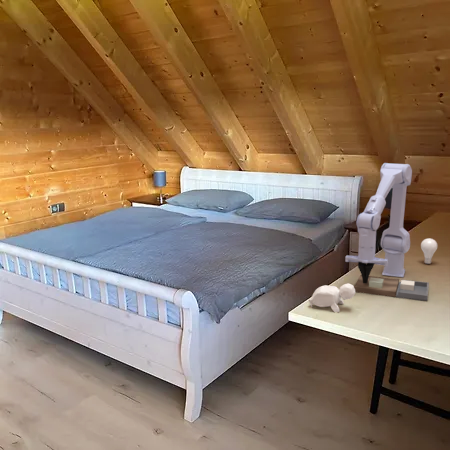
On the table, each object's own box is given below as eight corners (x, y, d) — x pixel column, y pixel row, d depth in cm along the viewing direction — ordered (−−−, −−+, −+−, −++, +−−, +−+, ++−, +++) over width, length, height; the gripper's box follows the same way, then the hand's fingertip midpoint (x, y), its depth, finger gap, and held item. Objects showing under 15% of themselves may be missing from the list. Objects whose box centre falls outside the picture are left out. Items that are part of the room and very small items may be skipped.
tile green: (370, 282, 174) (370, 277, 174) (383, 284, 172) (383, 279, 172) (368, 286, 170) (369, 281, 170) (381, 288, 168) (382, 283, 168)
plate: (360, 279, 183) (360, 274, 183) (398, 284, 178) (399, 279, 177) (354, 292, 171) (354, 286, 170) (395, 297, 165) (395, 291, 165)
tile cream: (401, 285, 175) (401, 279, 175) (414, 286, 174) (414, 281, 173) (400, 289, 171) (400, 283, 171) (413, 290, 170) (413, 285, 169)
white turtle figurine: (313, 318, 157) (357, 308, 150) (304, 294, 157) (348, 283, 150) (319, 308, 165) (361, 299, 158) (311, 285, 164) (353, 275, 157)
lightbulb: (426, 266, 197) (428, 241, 194) (416, 262, 203) (418, 237, 200) (439, 265, 198) (441, 239, 196) (429, 261, 204) (431, 236, 202)
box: (399, 284, 177) (399, 279, 177) (428, 287, 173) (428, 282, 173) (395, 297, 165) (396, 291, 165) (427, 301, 161) (427, 295, 161)
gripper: (344, 247, 169) (342, 283, 172) (387, 251, 163) (385, 288, 166) (347, 242, 175) (346, 277, 178) (389, 245, 169) (387, 282, 172)
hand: (365, 282), depth 172 cm, fingers closed
